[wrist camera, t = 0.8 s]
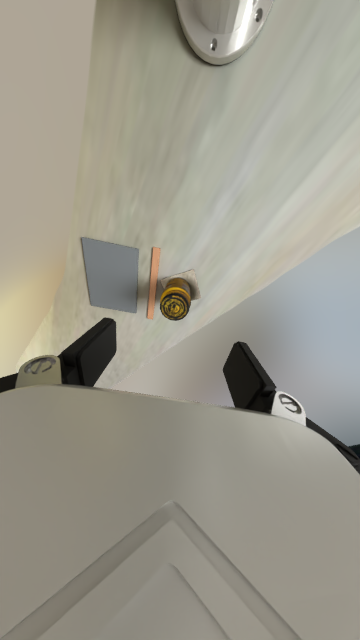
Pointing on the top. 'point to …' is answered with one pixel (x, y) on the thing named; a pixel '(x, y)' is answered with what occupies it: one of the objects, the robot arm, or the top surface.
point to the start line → (153, 281)
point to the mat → (111, 274)
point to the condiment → (178, 295)
